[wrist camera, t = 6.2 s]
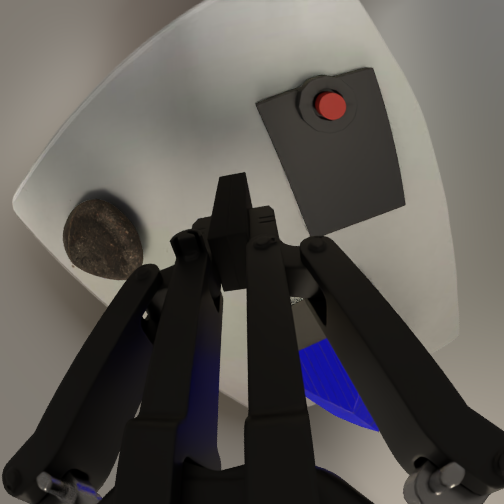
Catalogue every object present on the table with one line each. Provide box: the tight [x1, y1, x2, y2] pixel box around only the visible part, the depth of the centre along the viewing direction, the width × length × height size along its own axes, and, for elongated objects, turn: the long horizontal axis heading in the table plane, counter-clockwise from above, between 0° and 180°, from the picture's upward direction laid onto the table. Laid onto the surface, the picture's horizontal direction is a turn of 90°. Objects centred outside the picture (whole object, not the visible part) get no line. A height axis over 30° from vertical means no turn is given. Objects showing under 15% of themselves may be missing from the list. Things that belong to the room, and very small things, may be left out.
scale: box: [256, 67, 406, 237], centre depth 27 cm, size 17×12×4 cm
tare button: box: [315, 92, 346, 120], centre depth 22 cm, size 2×2×2 cm
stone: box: [63, 199, 143, 280], centre depth 32 cm, size 11×11×5 cm
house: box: [292, 299, 379, 432], centre depth 40 cm, size 25×16×16 cm, turn 36°
